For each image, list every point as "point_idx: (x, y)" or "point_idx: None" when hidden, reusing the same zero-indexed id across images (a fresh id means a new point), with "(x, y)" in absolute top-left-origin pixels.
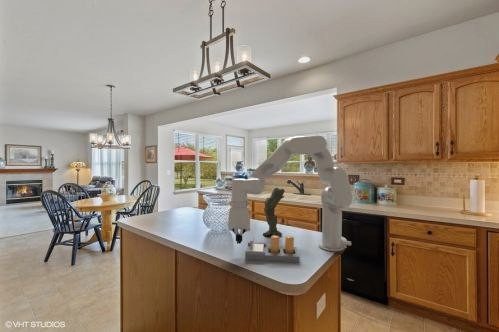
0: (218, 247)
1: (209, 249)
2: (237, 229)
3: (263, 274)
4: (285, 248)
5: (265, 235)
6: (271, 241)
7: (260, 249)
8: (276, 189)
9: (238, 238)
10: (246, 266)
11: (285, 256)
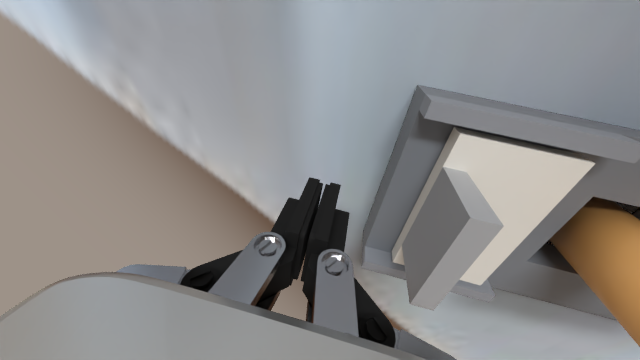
0: (168, 4)
1: (126, 53)
2: (257, 297)
3: (408, 327)
4: None
5: None
6: (636, 334)
7: (479, 260)
8: None
9: (304, 254)
10: (358, 278)
11: (607, 316)
